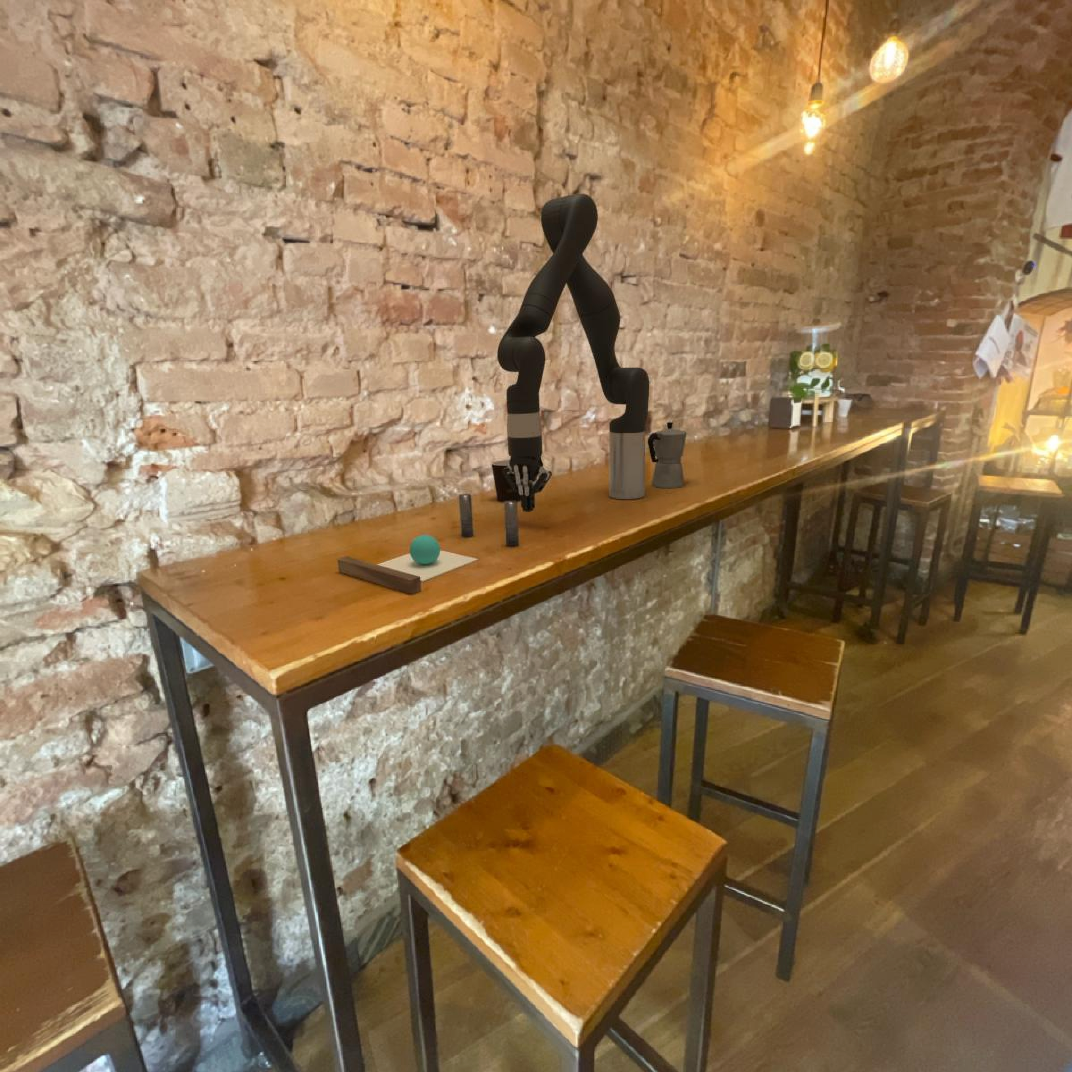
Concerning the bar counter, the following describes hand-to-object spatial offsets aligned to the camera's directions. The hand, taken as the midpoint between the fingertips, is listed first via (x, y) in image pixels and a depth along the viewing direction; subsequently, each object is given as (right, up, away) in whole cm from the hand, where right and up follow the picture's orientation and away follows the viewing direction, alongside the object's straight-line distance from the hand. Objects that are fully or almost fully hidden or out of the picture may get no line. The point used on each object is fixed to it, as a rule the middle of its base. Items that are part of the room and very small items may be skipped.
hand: (528, 510), depth 138 cm
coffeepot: (+39, +8, +38) cm, 55 cm away
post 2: (-3, -7, -13) cm, 15 cm away
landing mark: (-19, -11, -23) cm, 32 cm away
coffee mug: (-4, +4, +27) cm, 28 cm away
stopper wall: (-26, -14, -31) cm, 42 cm away
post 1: (-13, -6, -5) cm, 15 cm away
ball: (-19, -8, -24) cm, 32 cm away
